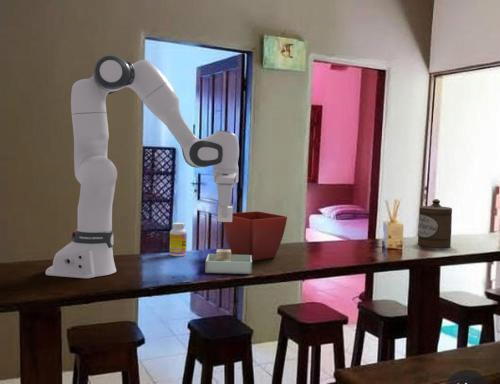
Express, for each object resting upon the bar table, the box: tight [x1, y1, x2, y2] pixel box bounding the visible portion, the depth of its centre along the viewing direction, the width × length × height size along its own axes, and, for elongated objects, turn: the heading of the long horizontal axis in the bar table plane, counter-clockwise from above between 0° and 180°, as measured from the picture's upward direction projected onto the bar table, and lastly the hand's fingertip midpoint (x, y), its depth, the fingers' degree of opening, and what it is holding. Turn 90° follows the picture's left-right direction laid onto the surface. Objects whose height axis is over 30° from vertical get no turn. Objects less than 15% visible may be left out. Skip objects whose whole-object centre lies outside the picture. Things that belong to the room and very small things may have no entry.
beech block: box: [215, 248, 232, 262], centre depth 188 cm, size 5×5×6 cm
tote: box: [204, 253, 253, 275], centre depth 188 cm, size 16×13×4 cm
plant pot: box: [222, 210, 288, 262], centre depth 210 cm, size 19×19×17 cm
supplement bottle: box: [169, 222, 188, 257], centre depth 209 cm, size 7×7×13 cm
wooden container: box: [417, 198, 453, 249], centre depth 251 cm, size 15×15×22 cm
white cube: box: [217, 205, 234, 223], centre depth 187 cm, size 5×5×5 cm
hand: (224, 216), depth 187 cm, fingers closed on white cube, 5 cm apart
